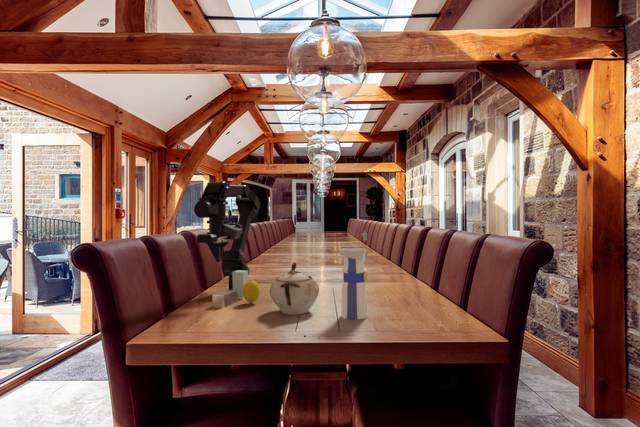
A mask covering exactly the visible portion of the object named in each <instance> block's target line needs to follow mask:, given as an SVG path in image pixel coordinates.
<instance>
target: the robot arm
mask: <svg viewBox="0 0 640 427" xmlns="http://www.w3.org/2000/svg"><path fill="white" fill-rule="evenodd" d="M230 196H235V201H234V203H235V204H236V206H237V213H238V215H239V216H238V217H239V219H238V221H237V223H236V224H235V225H232V224H230V221H229V220H228V219H227V214H226V213H227V211H226V208H227V207H226V205H229V202H228V201H227V200H226V198H229V197H230ZM240 196H246V197H240ZM260 208H261V202H260V199H259V197H258V195H257V193H254V192H253V191H252V190H251V189H250V187H249V186H248V185H246V184H241V185H240V184H237V185H235V184H231V185H230V183H229V182H227V181H209V182H207V183H206V185H205V187H204V189H203V192H202V195H201V197H198V201H197V202H196V203H195V204H194V207H193V212H194V214H195V216H196V217H197V218H200V219H205V218H206V219H209V220H206V224H208V225H209V231H208V232H206V233H200V234H197V235H196V237H195V244H196V243H197V244H205V245H206V246H207V247H208V249H209V250H210V252H211V254H212V256H213V258H214V261H215V262H217V263H220V262H221V264H220V265H221V272H222V276H223V277H228V285H227V286H228V290H233V272H234V271H237V270H245V271H248V276H249V275H250V268H249V267H248V264H247V262H246V261H247V258H246V256H245V253H244V252H245V247H246V244H247V239H248V236H249V231H250V228H251V224H252V220H253V219H255V217H256V216H257V215H258V213H259V209H260ZM229 240H233V241H232V244H231V247H230V249H229V250H225V247H226V246H227V245H228V244H230V241H229ZM222 257H223V258H222Z"/></svg>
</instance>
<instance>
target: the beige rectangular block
mask: <svg viewBox="0 0 640 427" xmlns="http://www.w3.org/2000/svg"><path fill="white" fill-rule="evenodd" d="M238 302H239V299H238V290H229V289H225V290H222V291H219V292H217V293H213V294H212V308H218V307H219V308H222V309H224V308H226V307H228V306H232V305H233V304H236V303H238Z"/></svg>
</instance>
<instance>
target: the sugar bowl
mask: <svg viewBox="0 0 640 427" xmlns="http://www.w3.org/2000/svg"><path fill="white" fill-rule="evenodd" d="M296 269H297V263H296V262H293V263H292V264H291V269H290V270H289V271H288V272H287V273H285V274H283V275H282V274H281V276H277V277H276V278H275V279H274V280H273V282H271V285H270V287H269V295H270V297H271V300H272V302H273V303H274V305H276V307H277V308H278V309H279V311H280V312H281V313H282V314H283V315H291V316H292V315H297V316H298V315H304V314H306V313H307V314H308V313H309V311H310V309H311V308H312V307H313V305H314V304H315V302H316V300H317V298H318V296H319V293H320V286H319V284H318V281H316V280H315V279H314V277H312V276H310V275H308V274H305V273H302V272H300V271H297V270H296Z"/></svg>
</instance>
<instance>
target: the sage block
mask: <svg viewBox="0 0 640 427" xmlns="http://www.w3.org/2000/svg"><path fill="white" fill-rule="evenodd" d="M248 281H249V275H248V271H245V270H237V271H234V272H233V290H238V300H245V298H244V296H243V287H244V285H245V283H246V282H248Z"/></svg>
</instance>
